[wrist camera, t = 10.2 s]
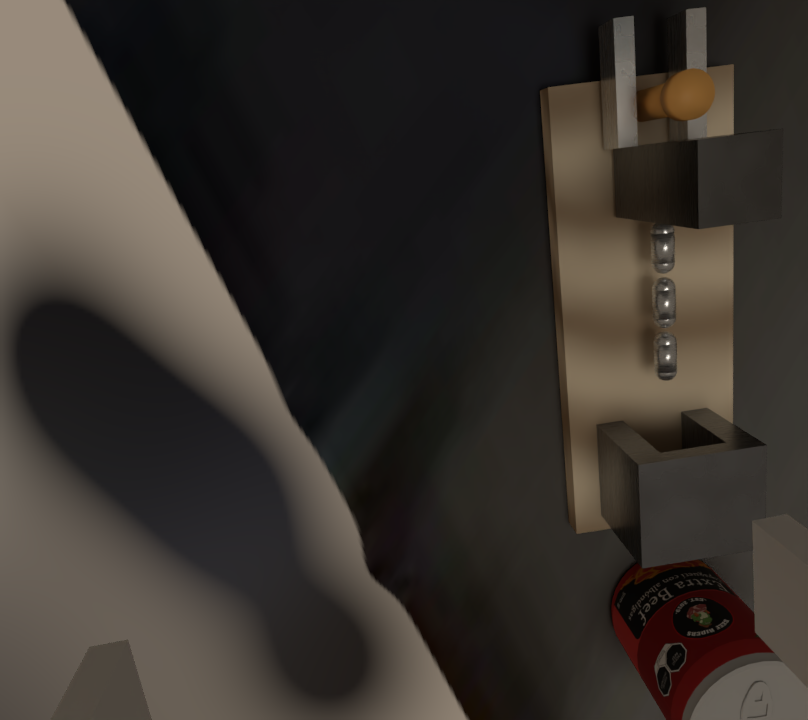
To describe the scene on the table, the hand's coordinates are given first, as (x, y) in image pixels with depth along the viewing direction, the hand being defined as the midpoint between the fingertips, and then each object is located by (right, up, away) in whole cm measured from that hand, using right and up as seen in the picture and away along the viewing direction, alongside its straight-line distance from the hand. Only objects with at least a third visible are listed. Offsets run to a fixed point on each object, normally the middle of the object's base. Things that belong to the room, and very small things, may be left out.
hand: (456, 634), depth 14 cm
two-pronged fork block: (+12, +14, +23) cm, 30 cm away
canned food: (+16, -10, +32) cm, 37 cm away
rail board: (+13, +9, +26) cm, 31 cm away
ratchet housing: (+14, -1, +28) cm, 31 cm away
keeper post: (+12, +19, +22) cm, 31 cm away
